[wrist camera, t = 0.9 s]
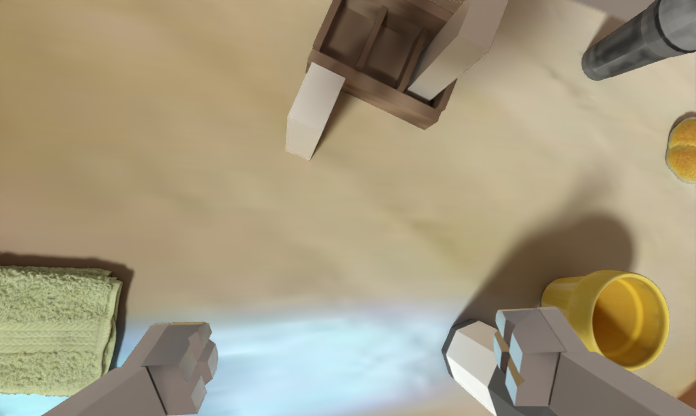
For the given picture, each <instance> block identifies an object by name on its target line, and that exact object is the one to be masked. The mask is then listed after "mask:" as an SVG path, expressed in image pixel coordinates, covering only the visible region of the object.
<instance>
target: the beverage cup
mask: <svg viewBox="0 0 696 416" xmlns="http://www.w3.org/2000/svg"><path fill="white" fill-rule="evenodd" d="M695 51H696V0H655V1H654V2H653V3H652V4H651V5H649V7H648V8H647V9H646V10H644V11H643V12H641V13H640V14H638V15H637V16H635V17H634V18H633V19H631V20H630V21H628V22H627V23H625V24H624V25H623V26H621V27H620V28H618V29H617V30H615V31H614V32H612V33H611V34H610V35H608V36H607V37H605V38H604V39H602V40H601V41H600V42H598V43H597V44H595V45H594V46H593V47H592V48H591V49H589V50H588V51H586V52H585V54H584V55H583V58H582V69H583V71H584V73H585V74H586V75H587V76H588V77H589V78H590V79H592V80H596V81H599V80H603V79H606V78H609V77H613V76H616V75H619V74H622V73H625V72H628V71H631V70H634V69H637V68H640V67H643V66H645V65H648V64H651V63H654V62H657V61H660V60H663V59H666V58H669V57H675V56H679V55H683V54H687V53H693V52H695Z"/></svg>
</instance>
